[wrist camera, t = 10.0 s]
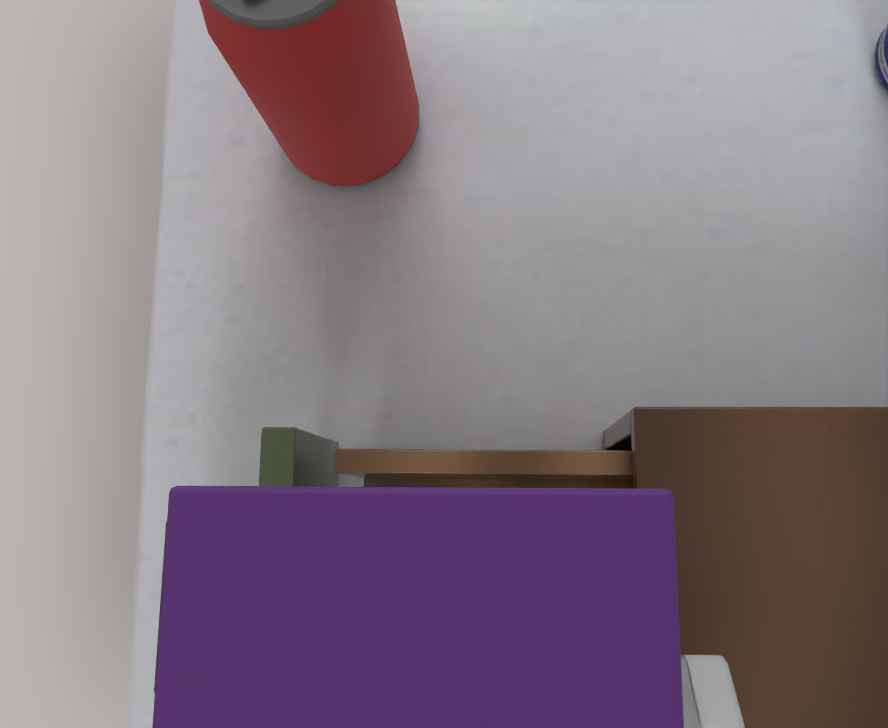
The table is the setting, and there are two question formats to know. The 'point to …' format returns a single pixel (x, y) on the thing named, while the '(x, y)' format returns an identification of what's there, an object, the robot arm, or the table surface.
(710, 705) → the robot arm
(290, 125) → the beer can
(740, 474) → the cabinet
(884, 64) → the energy drink
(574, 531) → the snack box
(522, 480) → the drawer
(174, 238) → the table surface
